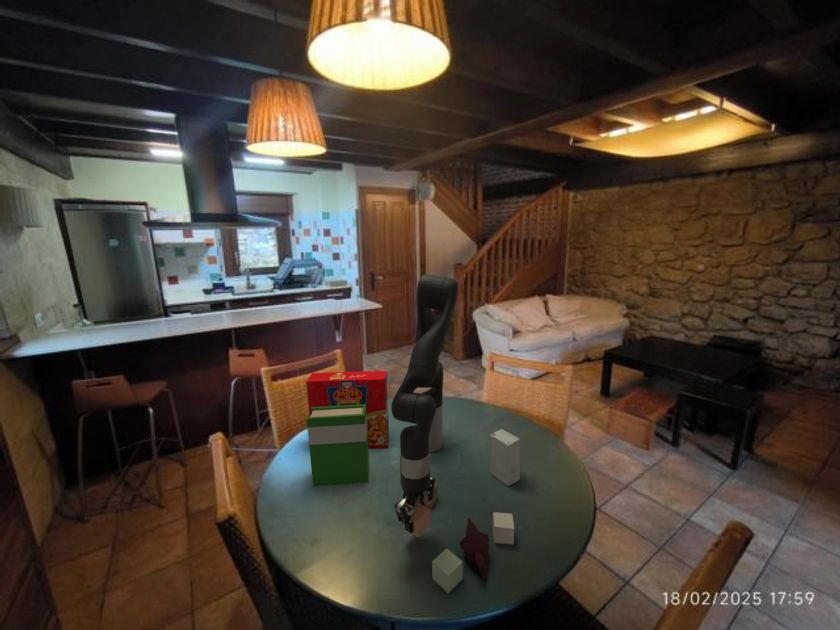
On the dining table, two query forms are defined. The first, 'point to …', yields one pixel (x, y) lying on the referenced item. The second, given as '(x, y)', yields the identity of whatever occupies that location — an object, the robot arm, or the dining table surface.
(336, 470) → the hardback book
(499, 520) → the cream cube
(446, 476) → the dining table surface
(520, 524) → the dining table surface
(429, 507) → the walnut cube
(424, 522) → the terracotta cube
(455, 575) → the sage cube
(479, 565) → the icecream
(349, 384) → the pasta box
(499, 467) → the skincare box
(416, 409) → the robot arm
